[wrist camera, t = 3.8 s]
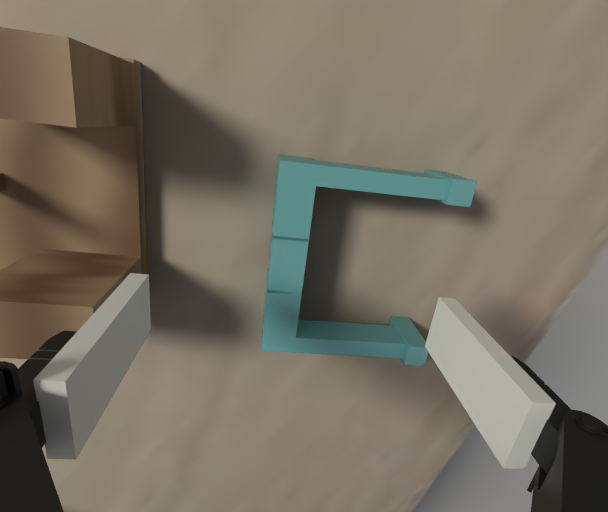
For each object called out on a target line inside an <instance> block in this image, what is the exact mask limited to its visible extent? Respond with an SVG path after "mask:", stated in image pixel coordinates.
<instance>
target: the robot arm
mask: <svg viewBox="0 0 608 512" xmlns="http://www.w3.org/2000/svg"><path fill="white" fill-rule="evenodd" d="M150 330H151V320H150V290H149V275H148V274H135V273H130V274H129V275H128V276H127V277H126V278H125V279H124V281H123V282H122V283H121V284H120V285H119V286H118V287H117V288H116V289H115V291H114V292H113V293H112V294H111V295H110V296H109V297H108V298H107V299H106V300H105V302H104V303H103V304H102V305H101V306H100V307H99V308H98V309H97V310H96V311H95V313H94V314H93V315H92V316H91V317H90V318H89V319H88V320H87V321H86V323H85V324H84V325H83V326H82V327H81V328H80V329H79V330H78V331H62V332H60V333H58V334H57V335H55V336H53V337H51V338H49V339H48V340H47V341H46V342H45V343H44V344H43V345H42V346H41V347H40V348H39V349H38V351H36V352H35V353H34V354H33V355H32V356H31V357H30V359H29V360H27V361H26V362H25V363H24V364H23V365H22V366H21V367H20V368H19V369H18V368H17V367H16V366H15V365H14V364H12V363H9V362H5V361H3V362H0V512H64V511H63V509H62V506H61V503H60V500H59V497H58V494H57V491H56V488H55V486H54V483H53V480H52V477H51V474H50V471H49V468H48V465H47V463H46V460H45V457H44V454H43V451H42V447H43V445H44V444H45V448H46V453H47V459H77V457H78V455H79V454H80V452H81V450H82V448H83V447H84V445H85V443H86V441H87V440H88V438H89V436H90V434H91V433H92V431H93V429H94V427H95V426H96V424H97V422H98V420H99V419H100V417H101V415H102V414H103V412H104V410H105V408H106V407H107V405H108V403H109V401H110V400H111V398H112V396H113V394H114V393H115V391H116V389H117V387H118V386H119V384H120V382H121V380H122V379H123V377H124V375H125V374H126V372H127V370H128V368H129V367H130V365H131V363H132V361H133V360H134V358H135V356H136V354H137V353H138V351H139V349H140V347H141V346H142V344H143V342H144V340H145V339H146V337H147V335H148V334H149V332H150ZM425 347H426V349H427V351H428V352H429V354H430V355H431V357H432V358H433V360H434V361H435V363H436V365H437V366H438V368H439V369H440V371H441V372H442V374H443V375H444V377H445V379H446V380H447V382H448V383H449V385H450V386H451V388H452V389H453V391H454V393H455V394H456V396H457V397H458V399H459V400H460V402H461V403H462V405H463V407H464V408H465V410H466V411H467V413H468V414H469V416H470V417H471V419H472V421H473V422H474V424H475V425H476V427H477V428H478V430H479V431H480V433H481V434H482V436H483V438H484V439H485V441H486V442H487V444H488V445H489V447H490V448H491V450H492V452H493V453H494V455H495V456H496V458H497V459H498V461H499V462H500V464H501V466H502V467H503V468H511V469H512V468H514V469H525V467H526V465H527V463H528V461H529V459H530V457H531V455H532V456H533V457H534V458H535V460H536V461H537V462H538V464H539V467H538V469H537V471H536V473H535V475H534V477H533V480H532V481H531V483H530V485H529V488H528V489H527V490H528V491H529V492H532V490H533V498H532V507H531V512H608V426H607V425H606V424H604V423H603V422H602V421H600V420H599V419H597V418H595V417H593V416H592V415H590V414H587V413H584V412H581V411H577V410H571V409H570V408H569V407H568V406H567V405H566V404H565V403H564V402H563V401H562V400H561V399H560V398H559V397H558V396H557V395H556V394H555V393H554V392H553V391H552V390H551V389H550V388H549V387H548V386H547V385H545V384H544V382H543V381H542V380H541V379H540V378H539V377H537V375H536V374H535V373H534V372H533V371H532V370H531V369H530V368H529V367H528V366H527V365H526V364H524V363H523V362H521V361H520V360H518V359H517V358H515V357H513V356H510V355H509V354H508V353H507V352H506V351H505V350H504V349H503V348H502V347H501V346H500V345H499V344H498V343H497V342H496V341H495V340H494V339H493V338H492V337H491V336H490V335H489V334H488V333H487V332H486V331H485V330H484V329H483V327H482V326H481V325H480V324H479V323H478V322H477V321H476V320H475V319H474V318H473V317H472V316H471V315H470V314H469V313H468V312H467V311H466V310H465V309H464V308H463V307H462V306H461V305H460V304H459V303H458V302H457V301H456V300H455V299H454V298H442V297H439V299H438V303H437V306H436V309H435V313H434V316H433V320H432V323H431V327H430V330H429V334H428V337H427V340H426V344H425ZM533 488H534V489H533Z"/></svg>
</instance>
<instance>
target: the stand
mask: <svg viewBox="0 0 608 512" xmlns="http://www.w3.org/2000/svg"><path fill="white" fill-rule="evenodd" d="M130 273H135V274H147V245H146V212H145V179H144V146H143V113H142V80H141V62H138V61H136V60H134V59H127V58H120V57H116V56H114V55H111V54H109V53H106V52H104V51H101V50H99V49H96V48H94V47H91V46H89V45H86V44H84V43H81V42H79V41H76V40H74V39H71V38H69V37H63V36H56V35H50V34H43V33H36V32H29V31H23V30H16V29H9V28H2V27H0V358H17V359H30V357H31V356H32V355H33V354H34V353H35V352H36V351H38V349H39V348H40V347H41V346H42V345H43V344H44V343H45V342H46V341H47V340H48V339H49V338H51V337H53V336H55V335H57V334H58V333H60V332H62V331H78V330H79V329H80V328H81V327H82V326H83V325H84V324H85V323H86V321H87V320H88V319H89V318H90V317H91V316H92V315H93V314H94V313H95V311H96V310H97V309H98V308H99V307H100V306H101V305H102V304H103V303H104V302H105V300H106V299H107V298H108V297H109V296H110V295H111V294H112V293H113V292H114V291H115V289H116V288H117V287H118V286H119V285H120V284H121V283H122V282H123V281H124V279H125V278H126V277H127V276H128V275H129V274H130Z"/></svg>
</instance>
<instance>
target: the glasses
mask: <svg viewBox="0 0 608 512" xmlns="http://www.w3.org/2000/svg"><path fill="white" fill-rule="evenodd" d="M476 185H477V181H473V180H470V179H467V178H463V177H460V176H457V175H454V174H450V173H447V172H440V171H432V170H425V173H416V172H408V171H399V170H391V169H382V168H374V167H366V166H357V165H349V164H340V163H332V162H323V161H315V160H313V159H311V158H303V157H295V156H286V155H279V158H278V169H277V179H276V190H275V200H274V211H273V221H272V238H271V249H270V259H269V268H268V274H267V285H266V295H265V306H264V316H263V330H262V351H270V352H289V353H308V354H327V355H346V356H364V357H383V358H401V360H402V361H403V363H404V365H419V366H425V363H426V360H427V356H428V353H429V352H428V351H427V349H426V347H425V344H426V341H425V340H424V339H423V337H422V336H421V334H420V333H419V331H418V330H417V328H416V327H415V325H414V324H413V323H412V321H411V320H410V318H404V317H391V319H390V323H389V325H375V324H360V323H344V322H329V321H313V320H298V318H299V310H300V303H301V295H302V288H303V280H304V273H305V265H306V258H307V250H308V243H309V235H310V228H311V220H312V213H313V205H314V198H315V191H316V186H318V187H328V188H337V189H346V190H355V191H364V192H373V193H382V194H391V195H400V196H410V197H419V198H428V199H436V200H438V201H440V202H442V203H444V204H446V205H456V206H465V207H470V206H471V202H472V199H473V195H474V192H475V188H476Z"/></svg>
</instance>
